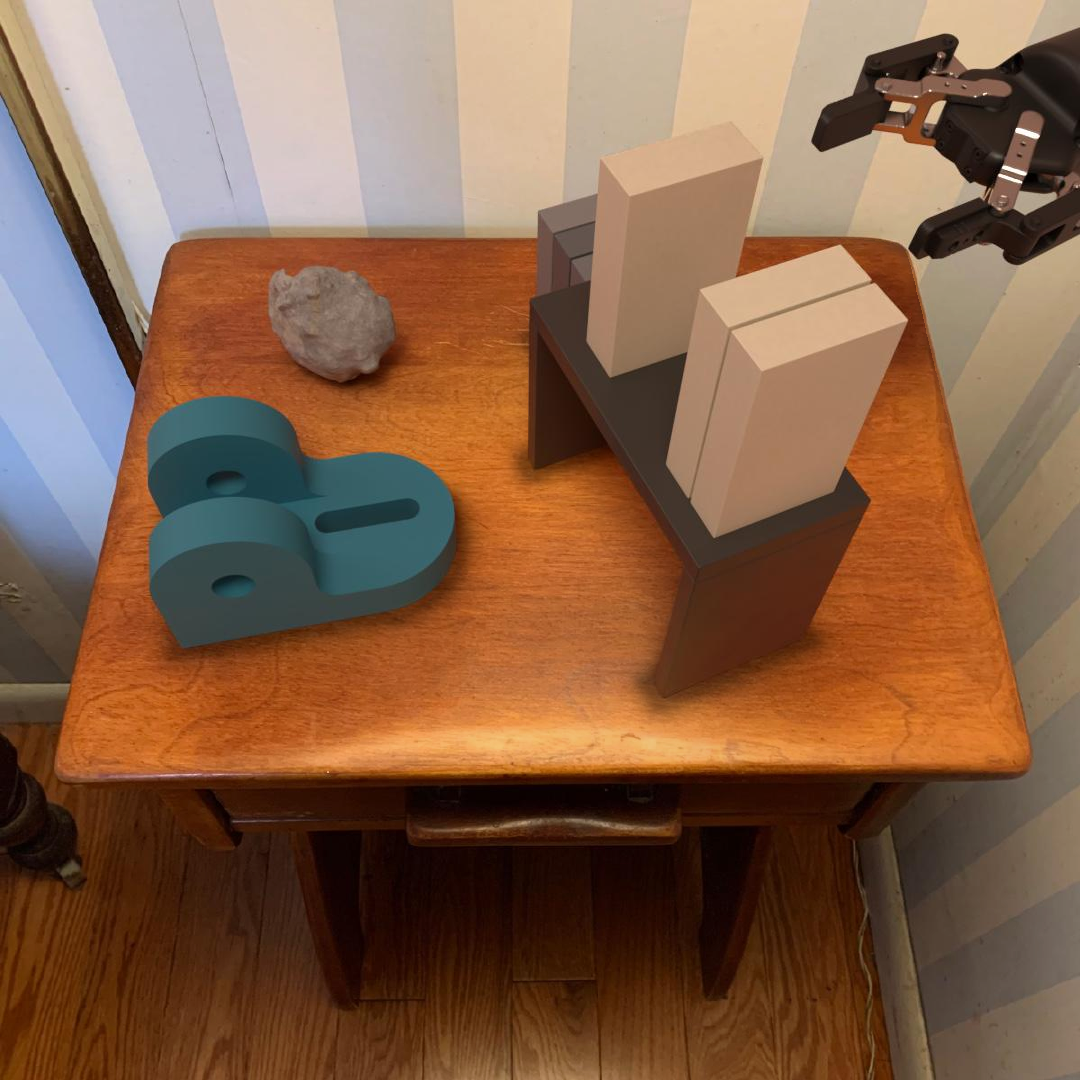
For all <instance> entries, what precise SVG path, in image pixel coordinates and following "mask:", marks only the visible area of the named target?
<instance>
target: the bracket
mask: <svg viewBox="0 0 1080 1080" xmlns="http://www.w3.org/2000/svg"><path fill="white" fill-rule="evenodd" d="M146 456H147V457H146V459H147V461H146V464H147V488H148V491H149V494H150V496H151V498H152V500H153V502H154V504H155V505H156V507H157V510H158V511H159V514H160V515H161V517H162V519H161V520H159V522H157V524H156V525H155V526H154V527H153V528H152V531H151V533H150V535H149V538H148V575H149V576H148V579H149V581H148V583H149V584H148V585H149V596H150V597H151V600H152V601H153V603H154V605H155V607H156V608H157V610H158V612H159V613H160V615H161V616H162V618H163V620H164V621H165V623H166V625H167V626H168V628H169V630H170V632H171V633H172V635H173V637H174V638H175V640H176V642H177V643H178V645H179V647H180V648H181V650H185V649H189V648H195V647H199V646H205V645H211V644H217V643H222V642H228V641H234V640H239V639H244V638H249V637H254V636H255V637H256V636H261V635H266V634H272V633H278V632H282V631H289V630H293V629H299V628H304V627H310V626H315V625H321V624H327V623H333V622H336V621H343V620H348V619H355V618H358V617H365V616H371V615H376V614H381V613H382V614H383V613H388V612H391V611H396V610H398V609H403V608H405V607H408V606H410V605H412V604H414V603H416V602H417V601H420V600H421V599H422V598H424V597H425V596H427V595H428V594H430V593H431V592H432V591H433V590H434V589H435V588H436V587H437V586H438V585H439V584H440V583H441V582H442V581H443V580H444V579H445V577H446V575H447V574H448V572H449V571H450V568H451V567H452V564H453V562H454V559H455V556H456V553H457V552H456V551H457V546H458V533H457V532H458V531H457V523H456V513H455V504H454V500H453V497H452V494H451V492H450V489H448V487H447V485H446V484H445V482H444V481H443V480H442V479H441V477H440V476H439V475H438V474H437V473H435V471H434V470H432V469H431V468H430V467H428V466H427V465H425V464H424V463H422V462H420V461H418V460H416V459H413V458H410V457H409V456H405V455H401V454H397V453H393V452H382V451H380V452H379V451H373V452H361V453H355V454H349V455H343V456H336V457H331V458H323V459H322V458H314V457H310V456H308V455H306V454H305V453H304V452H303V450H302V449H301V445H300V441H299V438H298V434H297V431H296V429H295V426H294V425H293V424H292V422H291V420H289V419H288V418H287V417H286V416H285V415H284V414H283V413H282V412H281V411H279V410H277V408H274V407H272V406H270V405H269V404H266V403H264V402H261V401H258V400H255V399H251V398H248V397H243V396H242V397H241V396H234V395H233V396H232V395H214V396H205V397H199V398H195V399H191V400H187V401H186V402H183V403H180V404H178V405H176V406H173V407H171V408H170V409H169V410H167V411H166V412H164V413H163V414H161V416H159V417H158V418H157V420H156V421H154V423H153V425H152V426H151V427H150V430H149V431H148V435H147V439H146Z"/></svg>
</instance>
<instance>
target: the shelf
mask: <svg viewBox="0 0 1080 1080" xmlns="http://www.w3.org/2000/svg"><path fill="white" fill-rule="evenodd" d="M590 288H591V280H589V281H585V282H582V283H579V284H576V285H572V286H569V287H566V288H563V289H560V290H556V291H553V292H550V293H547V294H543V295H540V296H537V297H536V296H534V297H531V298H529V316H528V317H529V318H528V402H527V404H528V405H527V406H528V410H527V411H528V416H527V417H528V418H527V460H528V461H529V463H530V464H531V466H532V468H533V470H534V471H536V470H539V469H542V468H545V467H547V466H551V465H553V464H556V463H559V462H562V461H564V460H568V459H571V458H573V457H576V456H578V455H581V454H584V453H587V452H590V451H593V450H596V449H599V448H602V447H604V446H607V445H608V446H609V448H610V449H611V451H612V452H613V454H614V456H615V458H616V459H617V461H618V462H619V464H620V465H621V467H622V468H623V470H624V472H625V474H626V475H627V477H628V478H629V480H630V482H631V483H632V485H633V486H634V488H635V490H636V491H637V493H638V495H639V496H640V498H641V499H642V501H643V503H644V504H645V506H646V507H647V509H648V511H649V513H650V514H651V516H652V517H653V519H654V520H655V523H656V524H657V525H658V527H659V529H660V530H661V532H662V533H663V535H664V536H665V538H666V540H667V541H668V543H669V545H670V546H671V547H672V550H673V551H674V553H675V555H676V556H677V558H678V559H679V561H680V562H681V564H682V565H683V566H682V570H681V574H680V578H679V582H678V585H677V589H676V594H675V598H674V601H673V605H672V609H671V613H670V617H669V620H668V621H669V622H668V624H667V625H668V626H667V629H666V632H665V636H664V641H663V644H662V649H661V653H660V657H659V660H658V665H657V667H656V668H657V669H656V673H655V677H654V680H653V684H654V685H655V687H656V689H657V690H658V692H659V694H660V697H661V698H662V699H665V698H667V697H670V696H672V695H674V694H676V693H678V692H680V691H683V690H687V689H688V688H690V687H694V686H695V685H697V684H700V683H702V682H704V681H707V680H709V679H712V678H714V677H716V676H719V675H720V674H721V675H722V674H723V673H726V672H728V671H730V670H733V669H735V668H737V667H739V666H742V665H744V664H748V663H749V662H751V661H754V660H756V659H759V658H762V657H763V656H765V655H768V654H771V653H773V652H776V651H777V650H780V649H782V648H785V647H787V646H789V645H792V644H794V643H796V642H799V641H801V640H803V639H804V637H805V636H806V634H807V632H808V629H809V628H810V626H811V623H812V622H813V619H814V617H815V615H816V613H817V611H818V609H819V607H820V606H821V604H822V601H823V600H824V597H825V595H826V593H827V591H828V589H829V587H830V585H831V583H832V581H833V579H834V578H835V577H834V576H835V575H836V572H837V571H838V569H839V567H840V564H841V562H842V561H843V558H844V557H845V554H846V553H847V550H848V549H849V547H850V545H851V542H852V540H853V538H854V536H855V535H856V532H857V530H858V528H859V526H860V524H861V522H862V520H863V518H864V516H865V514H866V512H867V510H868V508H869V506H870V504H871V502H872V499H871V497H870V496H869V494H867V492H866V491H865V490H864V489H863V487H862V486H861V484H859V482H858V481H857V480H856V478H855V477H854V476H853V474H852V473H851V471H849V469H848V468H847V466H845V467H844V469H843V471H842V474H841V476H840V478H839V481H838V483H837V485H836V487H835V490H834V492H832V493H829V494H827V495H824V496H822V497H819V498H817V499H814V500H811V501H809V502H806V503H804V504H801V505H799V506H796V507H793V508H791V509H788V510H786V511H783V512H780V513H778V514H775V515H773V516H770V517H768V518H765V519H762V520H760V521H757V522H755V523H752V524H750V525H747V526H744V527H742V528H739V529H737V530H734V531H731V532H729V533H726V534H724V535H721V536H719V537H716V538H713V536H712V535H711V533H710V532H709V530H708V529H707V527H706V526H705V524H704V523H703V521H702V519H701V518H700V516H699V515H698V513H697V512H696V510H695V509H694V507H693V506H692V504H691V502H690V501H691V498H687V496H686V495H685V493H684V492H683V490H682V489H681V487H680V485H679V484H678V482H677V481H676V479H675V478H674V476H673V475H672V473H671V472H670V470H669V469H668V467H667V465H666V461H667V456H668V451H669V445H670V440H671V435H672V430H673V425H674V420H675V415H676V410H677V404H678V399H679V394H680V389H681V384H682V379H683V374H684V368H685V363H686V358H687V353H688V352H686V353H683V354H680V355H677V356H674V357H671V358H668V359H665V360H662V361H659V362H656V363H653V364H650V365H647V366H644V367H641V368H638V369H635V370H632V371H629V372H626V373H623V374H620V375H617V376H614V377H611V378H610V377H609V375H608V374H607V372H606V371H605V369H604V368H603V366H602V365H601V363H600V362H599V360H598V359H597V357H596V355H595V354H594V352H593V351H592V349H591V348H590V346H589V345H588V343H587V341H586V340H587V327H588V314H589V301H590Z"/></svg>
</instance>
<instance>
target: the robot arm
mask: <svg viewBox="0 0 1080 1080" xmlns="http://www.w3.org/2000/svg"><path fill="white" fill-rule="evenodd" d="M959 44H960V40H959V39H958V37H957V36H956V35H954V34H951V33H946V32H945V33H939V34H937V35H933V36H929V37H927V38H923V39H919V40H917V41H912V42H909V43H905V44H902V45H900V46H899V45H898V46H896V47H895V46H894V47H891V48H889V49H886V50H882V51H879V52H875V53H871V54H869V55H867V56H866V57H865V59H864V62H863V65H862V66H861V67H862V68H861V71H860V72H859V76H858V78H857V81H856V84H855V87H854V89H853V93H852V95H849V96H847V97H845V98H842V99H838V100H837V101H833V102H830V103H828V104H826V105H825V106H824V107H823V108H822V109H821V111H820V115H819V117H818V119H817V122H816V125H815V127H814V130H813V134H812V136H811V139H810V142H811V144H812V145H813V146H814V148H816V149H817V151H818V152H819V153H824V152H827V151H831V150H832V149H834V148H837V147H840V146H843V145H845V144H848V143H851V142H853V141H856V140H858V139H861V138H864V137H866V136H870V135H872V133H873V131H876V132H882V133H883V132H884V133H892V134H898V135H901V136H902V139H903V140H904V142H905V143H908V144H914V145H918V146H919V145H920V146H927V147H933V149H935V150H936V151H937V152H938V153H939V154H940V155H941V156H942V157H943V158H945V159H946V160H948V161H950V163H952V164H953V165H955V167H956V169H957V170H958V172H959V174H960V176H962V177H963V178H964V179H965V181H966V182H968V184H969V185H970V184H973V183H976V184H978V185H979V186H982V187H984V190H983V193H982V196H978V197H976V198H974V199H971V200H968V201H966V202H963V203H961V204H959V205H956V206H953V207H952V208H950V209H947V210H944V211H942V212H940V213H939V212H938V213H937V214H934V215H933V216H929V217H927V218H926V219H924V220H923V221H922V222H921V223H920V224H919V225H918V227H917V228H916V230H915V233H914V234H913V237H912V238H911V241H910V243H909V245H908V247H907V250H908V251H909V252H910V253H911V255H913V257H915V258H916V260H919V261H920V260H923V259H925V258H927V257H929V258H930V259H931V260H941V259H942V260H943V259H946V258H947V257H950V256H951V255H954V254H957V253H959V252H962V251H964V250H967V249H969V248H971V247H973V246H975V245H980V246H985V247H986V246H991V245H994V246H996V247H997V248H999V249H1001V250H1003V251H1002V259H1004V261H1005V262H1006V263H1008V264H1010V265H1013V266H1022V265H1024V264H1025V263H1028V262H1030V261H1031V260H1033V259H1035V258H1037V257H1039V256H1041V255H1043V254H1045V253H1047V252H1049V251H1051V250H1053V249H1055V248H1057V247H1059V246H1060V245H1063V244H1064V243H1066V242H1068V241H1071V240H1072V239H1074V238H1076V237H1078V236H1080V26H1079V27H1076V28H1074V29H1070V30H1068V31H1066V32H1063V33H1060V34H1057V35H1055V36H1052V37H1048V38H1046V39H1043V40H1041V41H1039V42H1036V43H1032V44H1030V45H1028V46H1026V47H1023V48H1022V49H1020V50H1019V51H1017V52H1016V53H1014V54H1012V55H1011V56H1010V57H1008V58H1007V59H1005V61H1003V62H1001V63H1000V64H999V65H997V66H995V67H992V68H970V69H968V68H967V67H966V66H965V65H964V64H963V63H962V62H961V61H960V60H959V59H958V57H956V56H955V53H956V51H957V48H958V46H959ZM943 101H944V102H945V104H944V105H943V107H942V110H941V112H940V114H939V117H938V119H937V120H936V123H931V122H930V123H929V122H926V119H927V118H928V117H927V116H928V115H929V113H930V111H931V108H932V107H933V105H935V104H936V103H938V102H943ZM893 102H895V103H896V102H897V103H902V104H904V103H905V104H910V107H909V108H908V110H907V111H903V112H902V111H895V110H890V109H891V107H892V105H893ZM1019 192H1024V193H1030V194H1039V195H1048V194H1053V193H1055V195H1056V196H1055V198H1054V199H1053V200H1052V201H1049V202H1048V203H1045V204H1044V205H1041V206H1040V207H1038V208H1036V209H1034V210H1032V211H1030V212H1028V213H1026V214H1024V213H1022V212H1021V211H1019V210H1017V209H1015V206H1016V203H1017V200H1018V197H1019V194H1020V193H1019Z"/></svg>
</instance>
